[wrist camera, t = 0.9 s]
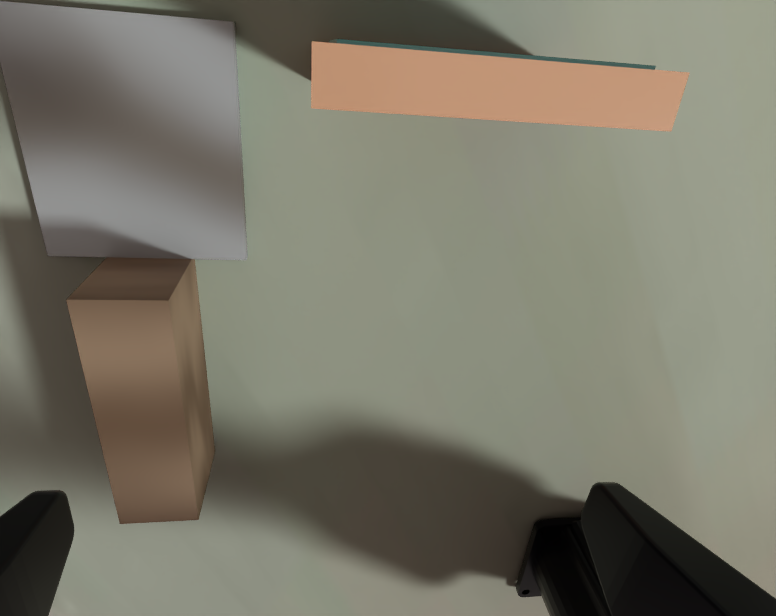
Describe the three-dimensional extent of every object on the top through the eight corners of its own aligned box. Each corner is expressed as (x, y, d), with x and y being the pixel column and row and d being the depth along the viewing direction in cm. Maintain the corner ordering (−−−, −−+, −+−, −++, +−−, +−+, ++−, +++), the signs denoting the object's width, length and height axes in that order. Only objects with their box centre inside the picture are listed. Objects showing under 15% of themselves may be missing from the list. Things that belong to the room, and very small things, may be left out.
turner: (258, 448, 24) (249, 517, 21) (102, 453, 23) (65, 526, 20) (235, 22, 16) (213, 16, 13) (-7, 0, 15) (-103, -12, 12)
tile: (535, 97, 18) (671, 131, 11) (313, 81, 17) (311, 108, 10) (542, 58, 18) (691, 68, 11) (313, 39, 17) (311, 36, 10)
